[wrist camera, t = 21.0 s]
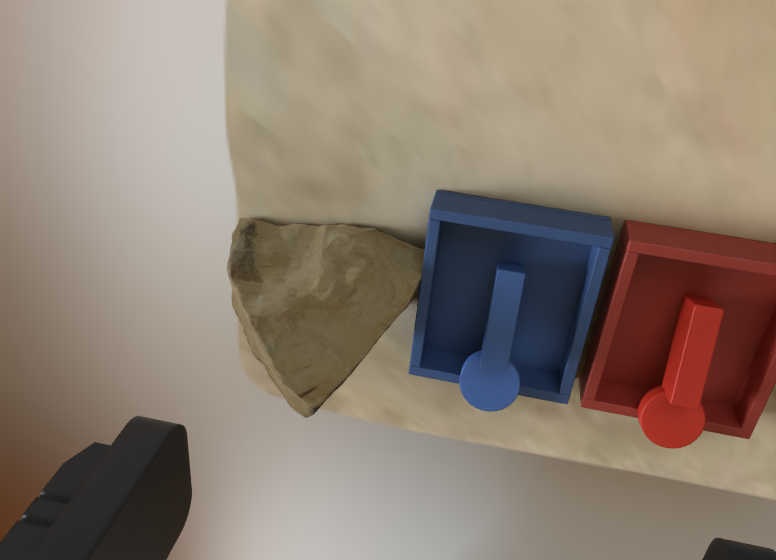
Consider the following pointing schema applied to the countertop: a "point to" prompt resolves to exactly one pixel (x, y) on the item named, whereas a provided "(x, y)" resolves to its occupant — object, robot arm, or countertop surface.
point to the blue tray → (539, 296)
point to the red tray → (660, 316)
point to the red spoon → (683, 377)
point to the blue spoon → (496, 346)
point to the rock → (317, 300)
